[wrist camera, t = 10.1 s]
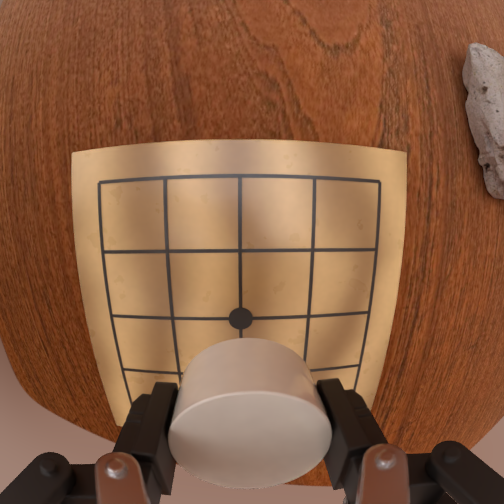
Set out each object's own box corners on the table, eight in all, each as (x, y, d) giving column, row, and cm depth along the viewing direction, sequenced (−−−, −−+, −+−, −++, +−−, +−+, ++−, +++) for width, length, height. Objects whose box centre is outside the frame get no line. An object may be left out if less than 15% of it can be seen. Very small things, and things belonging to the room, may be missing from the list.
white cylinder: (188, 434, 11) (180, 487, 8) (173, 336, 10) (153, 389, 7) (305, 431, 11) (320, 483, 8) (319, 333, 10) (346, 384, 7)
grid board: (120, 416, 20) (116, 426, 18) (80, 154, 16) (70, 152, 14) (363, 411, 21) (368, 421, 20) (397, 153, 17) (407, 151, 15)
